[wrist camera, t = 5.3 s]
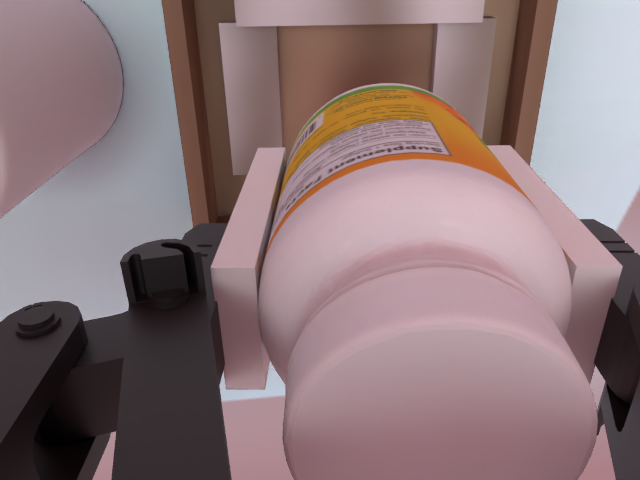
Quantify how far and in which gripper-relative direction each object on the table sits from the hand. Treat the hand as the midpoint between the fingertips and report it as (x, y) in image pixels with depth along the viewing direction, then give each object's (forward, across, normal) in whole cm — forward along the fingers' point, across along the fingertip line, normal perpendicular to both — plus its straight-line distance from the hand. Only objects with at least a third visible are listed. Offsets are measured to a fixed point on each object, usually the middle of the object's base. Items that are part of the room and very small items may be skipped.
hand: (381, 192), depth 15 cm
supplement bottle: (+1, 0, 0) cm, 1 cm away
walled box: (+13, 0, 0) cm, 13 cm away
